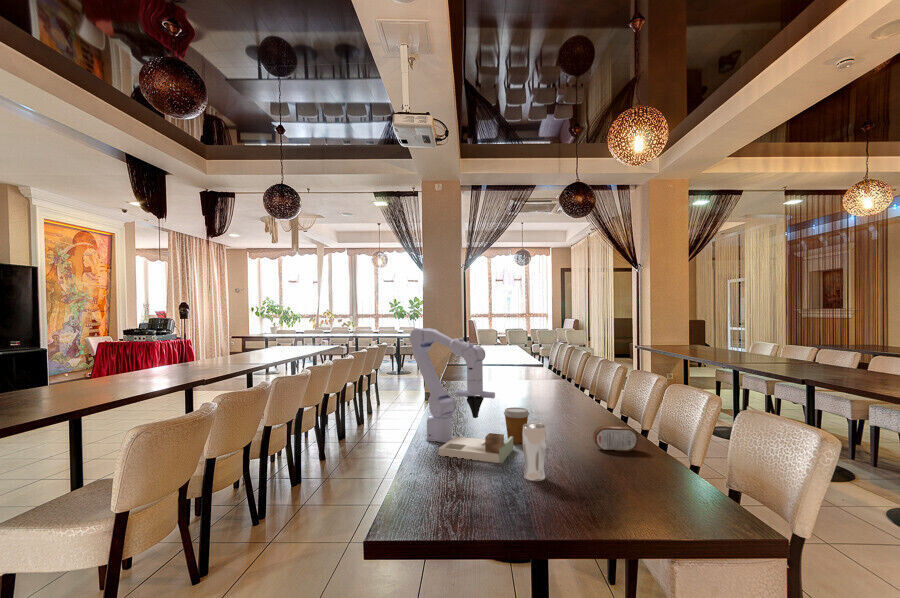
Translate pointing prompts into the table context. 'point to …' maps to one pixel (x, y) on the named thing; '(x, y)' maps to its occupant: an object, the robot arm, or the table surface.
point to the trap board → (475, 449)
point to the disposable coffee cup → (515, 422)
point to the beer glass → (534, 451)
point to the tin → (615, 438)
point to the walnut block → (493, 442)
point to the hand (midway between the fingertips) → (475, 417)
